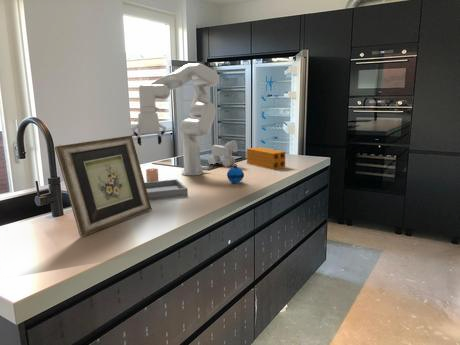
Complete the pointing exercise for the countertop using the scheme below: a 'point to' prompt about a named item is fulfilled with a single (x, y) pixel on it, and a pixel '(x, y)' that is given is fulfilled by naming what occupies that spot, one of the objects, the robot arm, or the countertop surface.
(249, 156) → the brick
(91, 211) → the picture frame
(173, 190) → the grey square tray
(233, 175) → the ornament
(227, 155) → the pony
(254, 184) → the countertop surface
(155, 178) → the terracotta cup
